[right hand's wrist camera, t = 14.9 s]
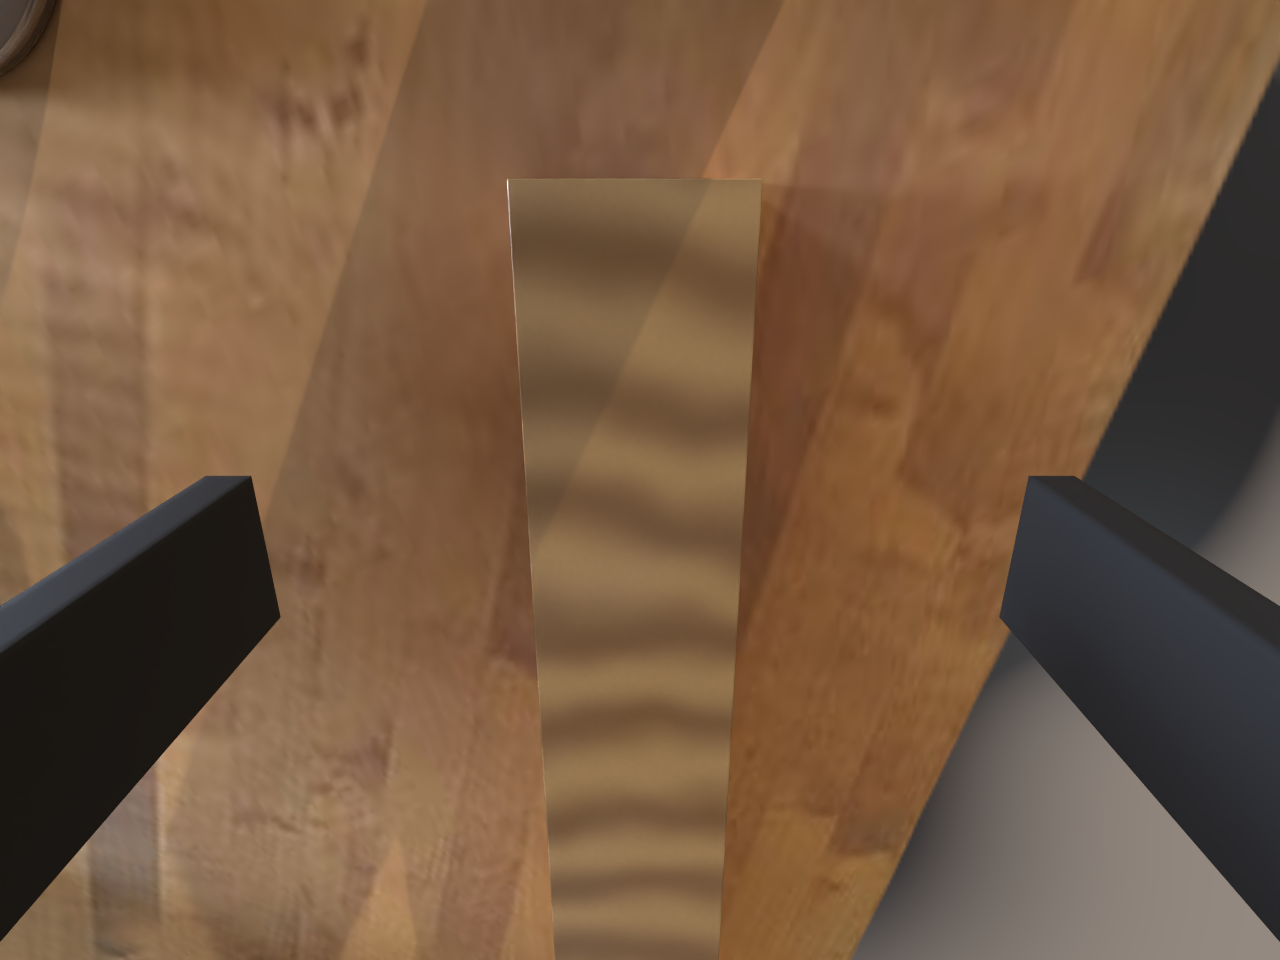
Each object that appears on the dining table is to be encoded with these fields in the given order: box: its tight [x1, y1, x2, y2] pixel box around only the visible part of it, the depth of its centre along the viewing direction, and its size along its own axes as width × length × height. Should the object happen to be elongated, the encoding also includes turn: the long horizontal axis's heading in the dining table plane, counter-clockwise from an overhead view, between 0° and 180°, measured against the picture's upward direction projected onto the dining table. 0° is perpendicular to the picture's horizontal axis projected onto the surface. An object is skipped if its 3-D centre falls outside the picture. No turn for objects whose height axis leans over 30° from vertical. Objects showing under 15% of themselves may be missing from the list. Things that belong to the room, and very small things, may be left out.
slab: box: [507, 178, 763, 960], centre depth 43 cm, size 65×10×7 cm, turn 0°
